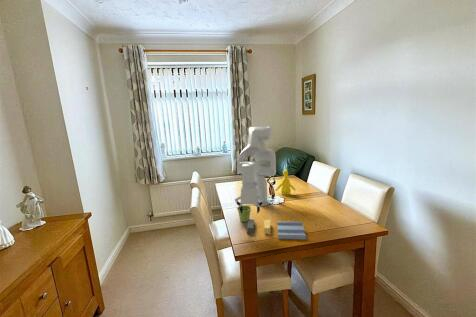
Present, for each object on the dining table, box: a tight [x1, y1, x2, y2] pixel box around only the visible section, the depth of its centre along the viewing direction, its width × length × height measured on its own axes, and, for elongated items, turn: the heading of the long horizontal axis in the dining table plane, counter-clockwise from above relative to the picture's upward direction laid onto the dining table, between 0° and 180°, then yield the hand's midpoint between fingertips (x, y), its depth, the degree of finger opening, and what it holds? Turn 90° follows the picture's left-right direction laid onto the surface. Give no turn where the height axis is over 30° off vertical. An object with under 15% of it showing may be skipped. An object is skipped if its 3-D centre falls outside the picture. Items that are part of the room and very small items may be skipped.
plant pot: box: [236, 204, 252, 223], centre depth 152 cm, size 9×9×9 cm
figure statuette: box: [274, 169, 297, 196], centre depth 195 cm, size 18×8×22 cm, turn 86°
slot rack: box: [276, 221, 307, 240], centre depth 134 cm, size 16×15×2 cm
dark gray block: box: [246, 218, 255, 235], centre depth 140 cm, size 11×4×4 cm, turn 173°
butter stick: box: [263, 219, 272, 235], centre depth 138 cm, size 11×4×4 cm, turn 173°
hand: (249, 212), depth 138 cm, fingers open, 9 cm apart
